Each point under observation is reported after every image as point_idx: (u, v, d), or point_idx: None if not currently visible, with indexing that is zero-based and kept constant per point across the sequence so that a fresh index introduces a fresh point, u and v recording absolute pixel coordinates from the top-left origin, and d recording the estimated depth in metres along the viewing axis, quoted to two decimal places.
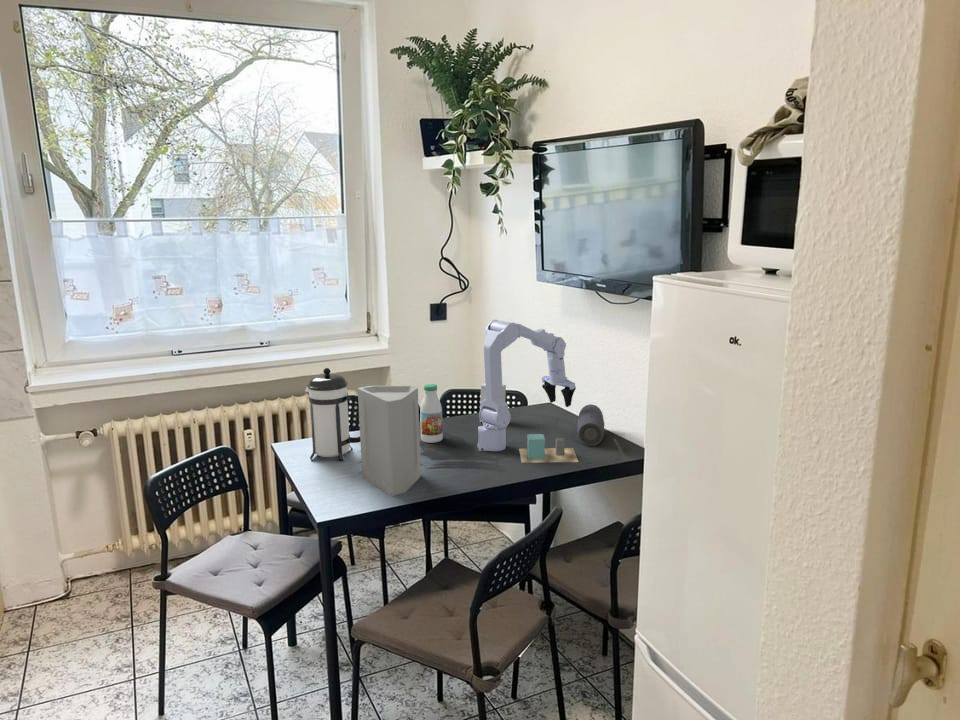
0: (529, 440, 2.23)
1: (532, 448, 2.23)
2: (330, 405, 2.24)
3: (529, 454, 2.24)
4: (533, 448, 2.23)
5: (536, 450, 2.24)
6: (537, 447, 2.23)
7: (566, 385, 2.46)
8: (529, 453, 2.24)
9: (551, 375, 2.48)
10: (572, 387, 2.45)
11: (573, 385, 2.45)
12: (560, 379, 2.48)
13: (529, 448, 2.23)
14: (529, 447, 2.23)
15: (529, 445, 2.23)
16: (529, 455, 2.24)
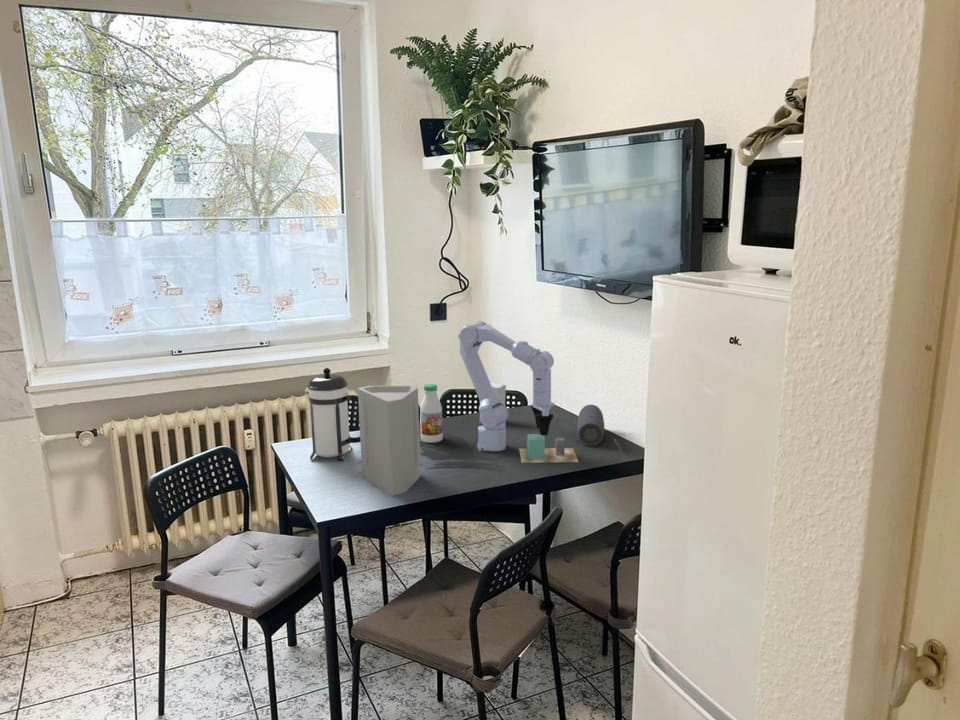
0: (529, 440, 2.23)
1: (532, 448, 2.23)
2: (330, 405, 2.24)
3: (529, 454, 2.24)
4: (533, 448, 2.23)
5: (536, 450, 2.24)
6: (537, 447, 2.23)
7: (540, 410, 2.19)
8: (529, 453, 2.24)
9: (533, 395, 2.23)
10: (544, 413, 2.17)
11: (545, 412, 2.17)
12: (539, 402, 2.21)
13: (529, 448, 2.23)
14: (529, 447, 2.23)
15: (529, 445, 2.23)
16: (529, 455, 2.24)
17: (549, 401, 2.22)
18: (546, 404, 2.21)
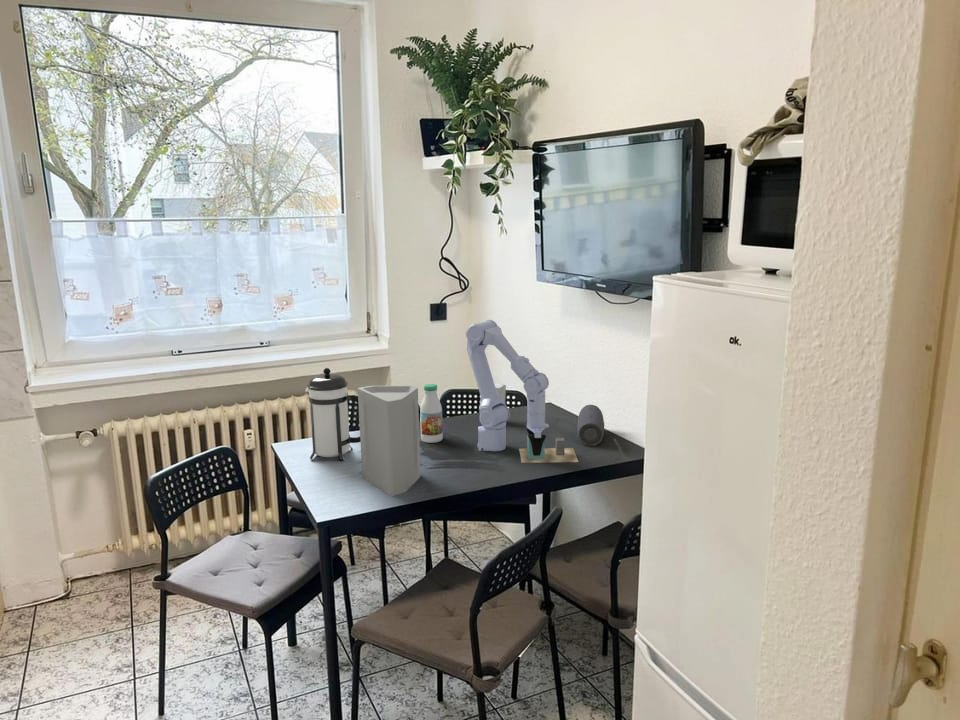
0: (529, 440, 2.23)
1: None
2: (330, 405, 2.24)
3: (529, 454, 2.24)
4: None
5: None
6: None
7: (533, 431, 2.19)
8: (529, 453, 2.24)
9: (527, 416, 2.24)
10: (536, 435, 2.18)
11: (538, 434, 2.18)
12: (532, 423, 2.22)
13: (529, 448, 2.23)
14: (529, 447, 2.23)
15: (529, 445, 2.23)
16: (529, 455, 2.24)
17: (543, 423, 2.22)
18: (539, 426, 2.22)
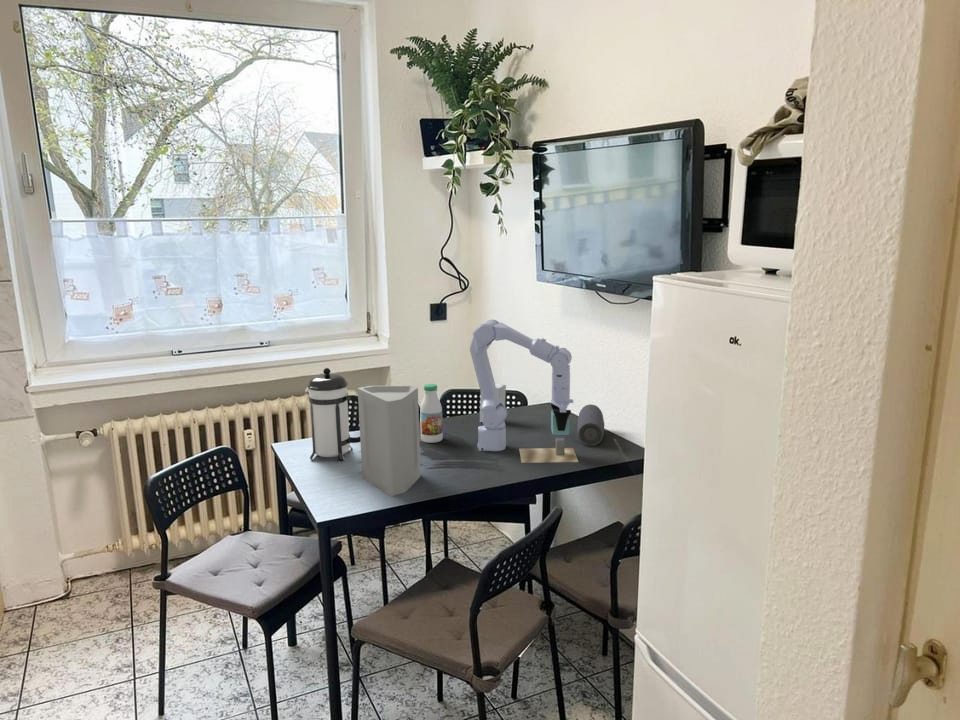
0: (553, 415, 2.23)
1: (556, 423, 2.24)
2: (330, 405, 2.24)
3: (553, 430, 2.24)
4: None
5: None
6: None
7: (558, 406, 2.20)
8: (553, 429, 2.24)
9: None
10: (561, 410, 2.18)
11: (563, 408, 2.18)
12: (557, 398, 2.22)
13: (554, 423, 2.24)
14: (553, 422, 2.24)
15: (553, 420, 2.24)
16: (553, 431, 2.24)
17: (567, 398, 2.23)
18: (564, 401, 2.22)
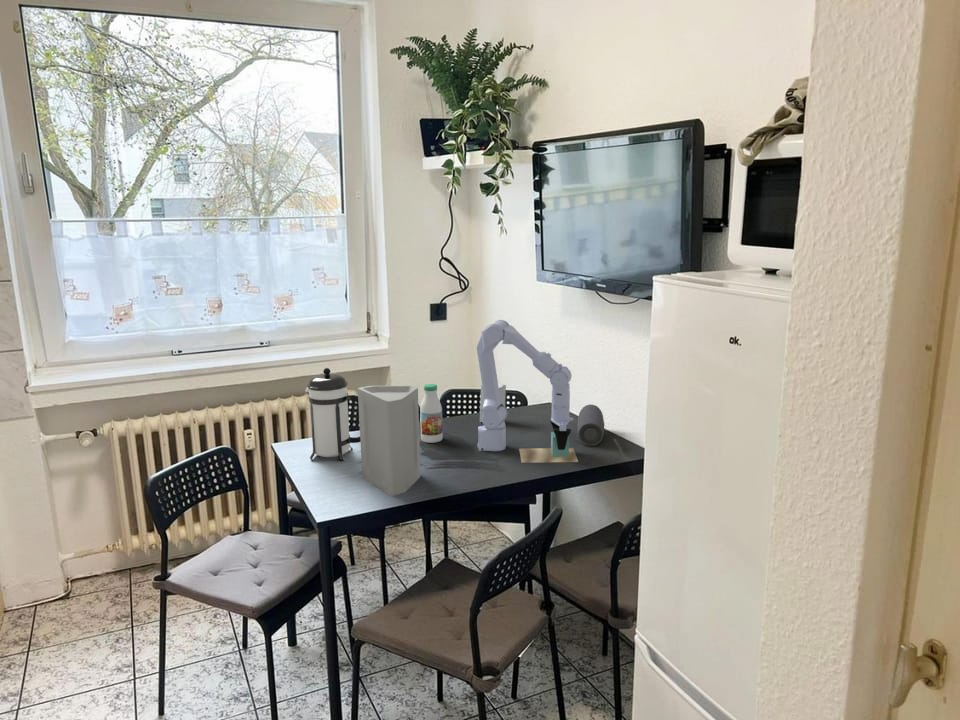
0: (553, 438, 2.25)
1: (556, 445, 2.25)
2: (330, 405, 2.24)
3: (553, 452, 2.26)
4: None
5: None
6: None
7: (558, 424, 2.21)
8: (553, 451, 2.26)
9: None
10: (561, 428, 2.19)
11: (563, 427, 2.19)
12: (557, 417, 2.23)
13: (554, 445, 2.25)
14: (553, 445, 2.25)
15: (553, 443, 2.25)
16: (553, 453, 2.26)
17: (567, 416, 2.24)
18: (564, 419, 2.23)
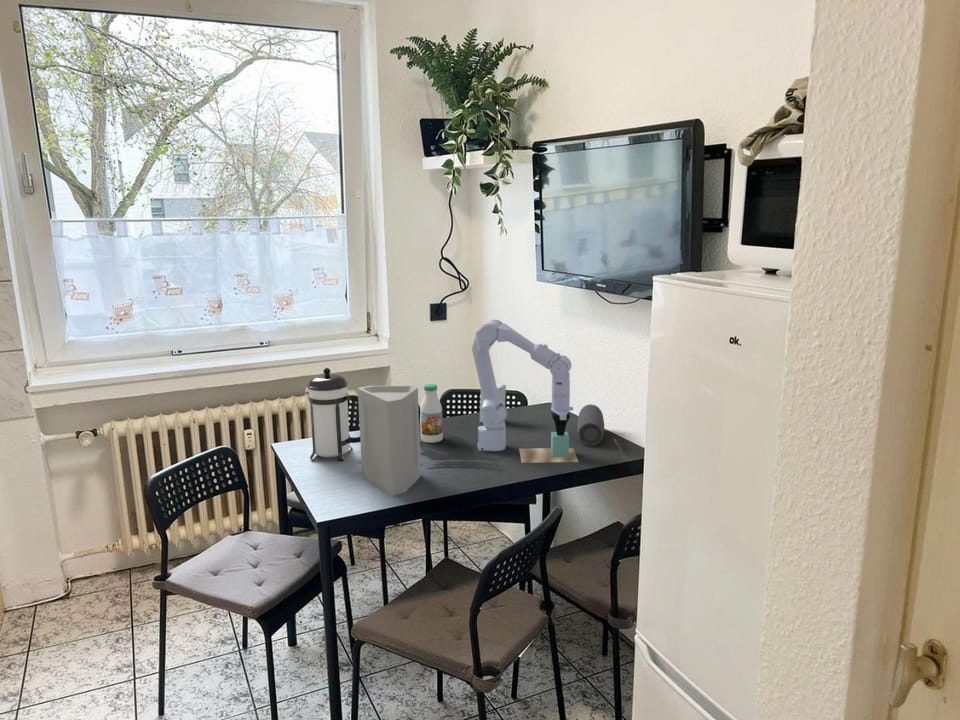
0: (553, 438, 2.25)
1: (556, 445, 2.25)
2: (330, 405, 2.24)
3: (553, 452, 2.26)
4: (557, 446, 2.25)
5: (560, 448, 2.26)
6: (561, 445, 2.25)
7: (558, 414, 2.20)
8: (553, 451, 2.26)
9: None
10: (561, 417, 2.19)
11: (563, 416, 2.18)
12: (557, 406, 2.23)
13: (554, 445, 2.25)
14: (553, 445, 2.25)
15: (553, 443, 2.25)
16: (553, 453, 2.26)
17: (567, 405, 2.23)
18: (564, 408, 2.23)
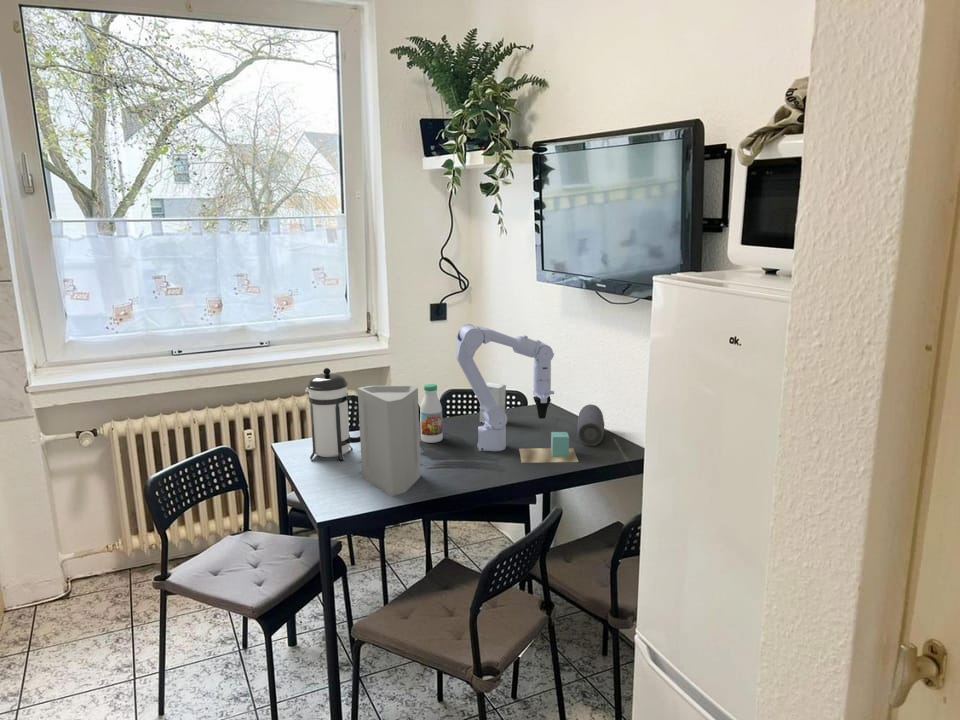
0: (553, 438, 2.25)
1: (556, 445, 2.25)
2: (330, 405, 2.24)
3: (553, 452, 2.26)
4: (557, 446, 2.25)
5: (560, 448, 2.26)
6: (561, 445, 2.25)
7: (539, 397, 2.31)
8: (553, 451, 2.26)
9: None
10: (542, 400, 2.29)
11: (544, 399, 2.29)
12: (538, 390, 2.33)
13: (554, 445, 2.25)
14: (553, 445, 2.25)
15: (553, 443, 2.25)
16: (553, 453, 2.26)
17: (548, 389, 2.33)
18: (545, 392, 2.33)
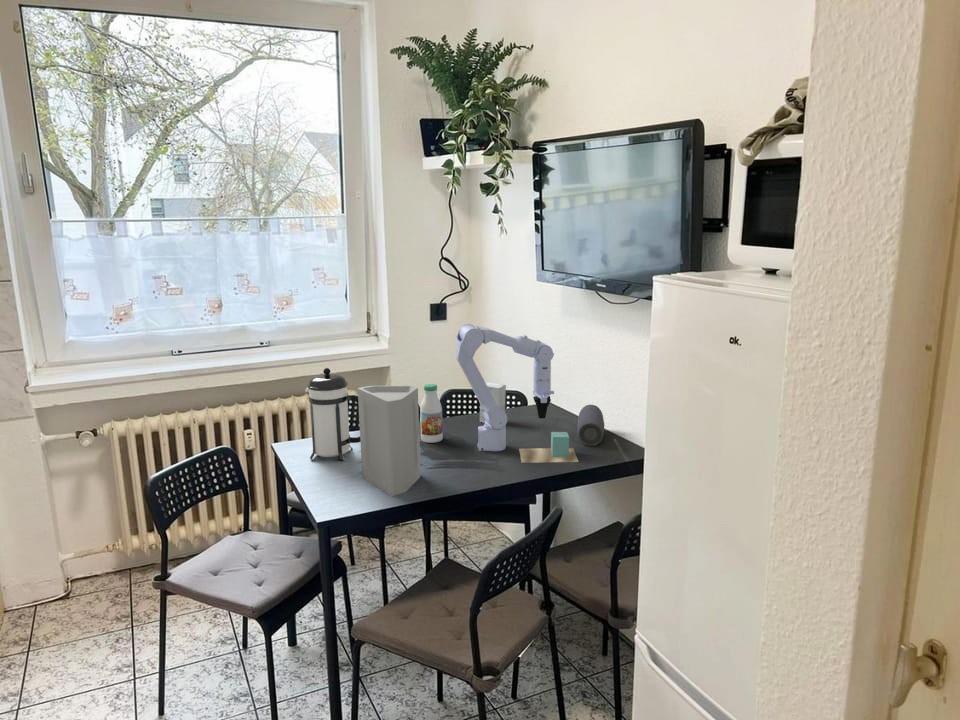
0: (553, 438, 2.25)
1: (556, 445, 2.25)
2: (330, 405, 2.24)
3: (553, 452, 2.26)
4: (557, 446, 2.25)
5: (560, 448, 2.26)
6: (561, 445, 2.25)
7: (539, 397, 2.31)
8: (553, 451, 2.26)
9: None
10: (542, 400, 2.29)
11: (544, 399, 2.29)
12: (538, 390, 2.33)
13: (554, 445, 2.25)
14: (553, 445, 2.25)
15: (553, 443, 2.25)
16: (553, 453, 2.26)
17: (548, 389, 2.34)
18: (545, 392, 2.33)
